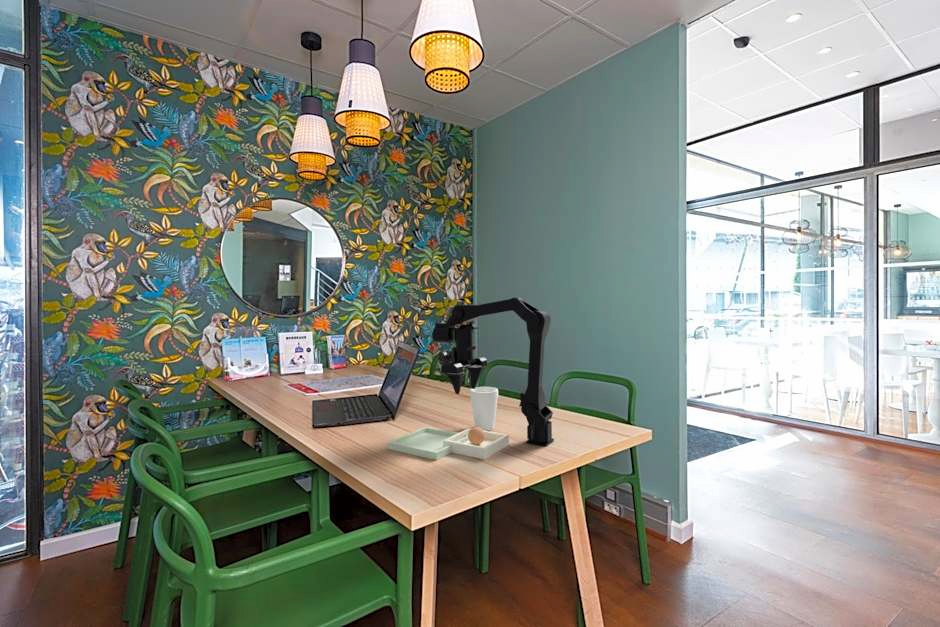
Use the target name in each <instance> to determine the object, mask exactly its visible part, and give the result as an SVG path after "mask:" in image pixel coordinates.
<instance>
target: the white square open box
mask: <svg viewBox="0 0 940 627" xmlns="http://www.w3.org/2000/svg"><path fill="white" fill-rule="evenodd" d="M472 428H473V427H472ZM472 428H470V427H469V428H466V429H464V430H462V431H460V432H458V434H455V435H453V436H451V437H449V438H447V439H445V440H443V448H444V447H446V446H448V445H451V446H452V453H451V454H458V455H462V456H467V457H471V458H477V459H481V460H487V459H488V458H490V457H491V456H493V455H494V454H496V453H498V452H500V451H502V450H503V449H504V448H506V447H508V446H509V445H510V439H509V438H510V435H509V434H506V433H501V432H494V431H491V430H489V431H484V430H483V431H484V433H485V439H484V441H483V442H482V443H481V444H478V445H474V444H472V443H471V442H470V441H469V440H468V441H466V442H464V443H461V442H456V441H458V440H460V439H462V438H464V437H465V435H466V434H468V433H469V431H470V430H471V429H472Z"/></svg>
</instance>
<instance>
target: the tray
mask: <svg viewBox="0 0 940 627" xmlns="http://www.w3.org/2000/svg"><path fill="white" fill-rule="evenodd" d="M458 433H459V432H457V431H452V430H446V429H441V428H436V427H430V426H424V427H421V428H419V429H417V430H414V431H411V432H409V433H407V434H404V435H401V436H399V437H398V438H397V437H396V438H395V439H392V440H390V441H387V450H392V451H395V452H400V453H403V454H408V455H412V456H417V457H421V458H425V459H430V460H435V461H438V460H441V459H442V458H445V457H446V456H448V455H449V454H453V453H452V446H451V445H448V446H446V447H444V448H443V440H445V439H447V438H449V437H451V436H453V435H455V434H458ZM468 440H469V439H468V434H466V435H465V437H464V438H462V439H460V440H458V441H456V442H461V443H464V442H466V441H468Z"/></svg>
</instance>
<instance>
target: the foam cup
mask: <svg viewBox="0 0 940 627" xmlns="http://www.w3.org/2000/svg"><path fill="white" fill-rule="evenodd" d="M469 397H470V400H471V402H470V403H471V409H472V416H473V422H474V427H479V428H481V429H482V430H484V431H492V430H494V429H495V426H496V425H495V424H496V423H495V422H496V417H497V416H496V414H497V407H498V398H499V389H498V388H497V387H492V386H479V387H478V386H476V387H475V389H472V388H470V389H469Z"/></svg>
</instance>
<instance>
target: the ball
mask: <svg viewBox="0 0 940 627" xmlns="http://www.w3.org/2000/svg"><path fill="white" fill-rule="evenodd" d="M468 439H469V441H470V442H471V443H472V444H474V445H478V444H481V443H482V442H483V441H484V439H485V433H484V431H483V430H482V429H481V428H479V427H475V426H474V427H472V429H471V430H470V431H469V433H468Z"/></svg>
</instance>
